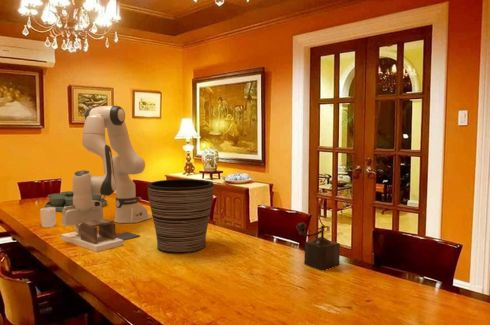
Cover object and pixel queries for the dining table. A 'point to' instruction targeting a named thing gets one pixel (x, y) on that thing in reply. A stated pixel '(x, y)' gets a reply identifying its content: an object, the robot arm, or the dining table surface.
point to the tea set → (68, 200)
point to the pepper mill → (320, 250)
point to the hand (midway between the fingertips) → (83, 231)
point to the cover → (90, 230)
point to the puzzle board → (102, 243)
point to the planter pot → (181, 213)
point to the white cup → (48, 216)
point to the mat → (126, 236)
